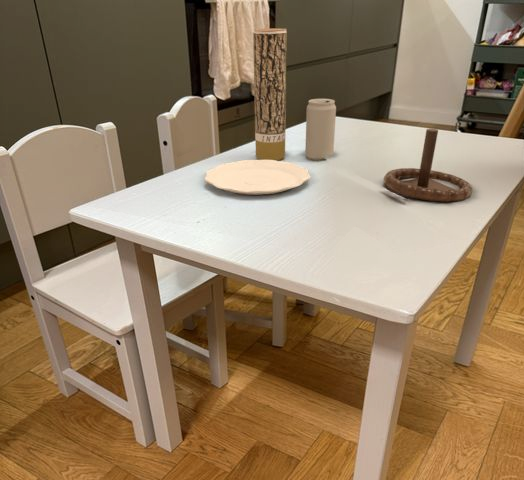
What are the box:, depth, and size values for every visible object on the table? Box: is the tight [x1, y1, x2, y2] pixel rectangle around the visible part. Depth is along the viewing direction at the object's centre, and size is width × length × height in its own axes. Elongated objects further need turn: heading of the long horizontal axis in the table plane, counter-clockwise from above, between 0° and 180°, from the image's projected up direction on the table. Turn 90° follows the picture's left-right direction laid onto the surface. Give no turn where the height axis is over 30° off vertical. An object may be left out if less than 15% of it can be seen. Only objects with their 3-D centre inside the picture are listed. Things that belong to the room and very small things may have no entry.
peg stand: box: [387, 128, 457, 200], centre depth 91 cm, size 9×9×11 cm
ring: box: [383, 167, 473, 203], centre depth 93 cm, size 16×16×2 cm
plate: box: [204, 159, 311, 196], centre depth 100 cm, size 21×21×2 cm
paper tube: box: [252, 28, 288, 161], centre depth 108 cm, size 7×7×25 cm
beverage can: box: [304, 98, 337, 162], centre depth 111 cm, size 6×6×12 cm
